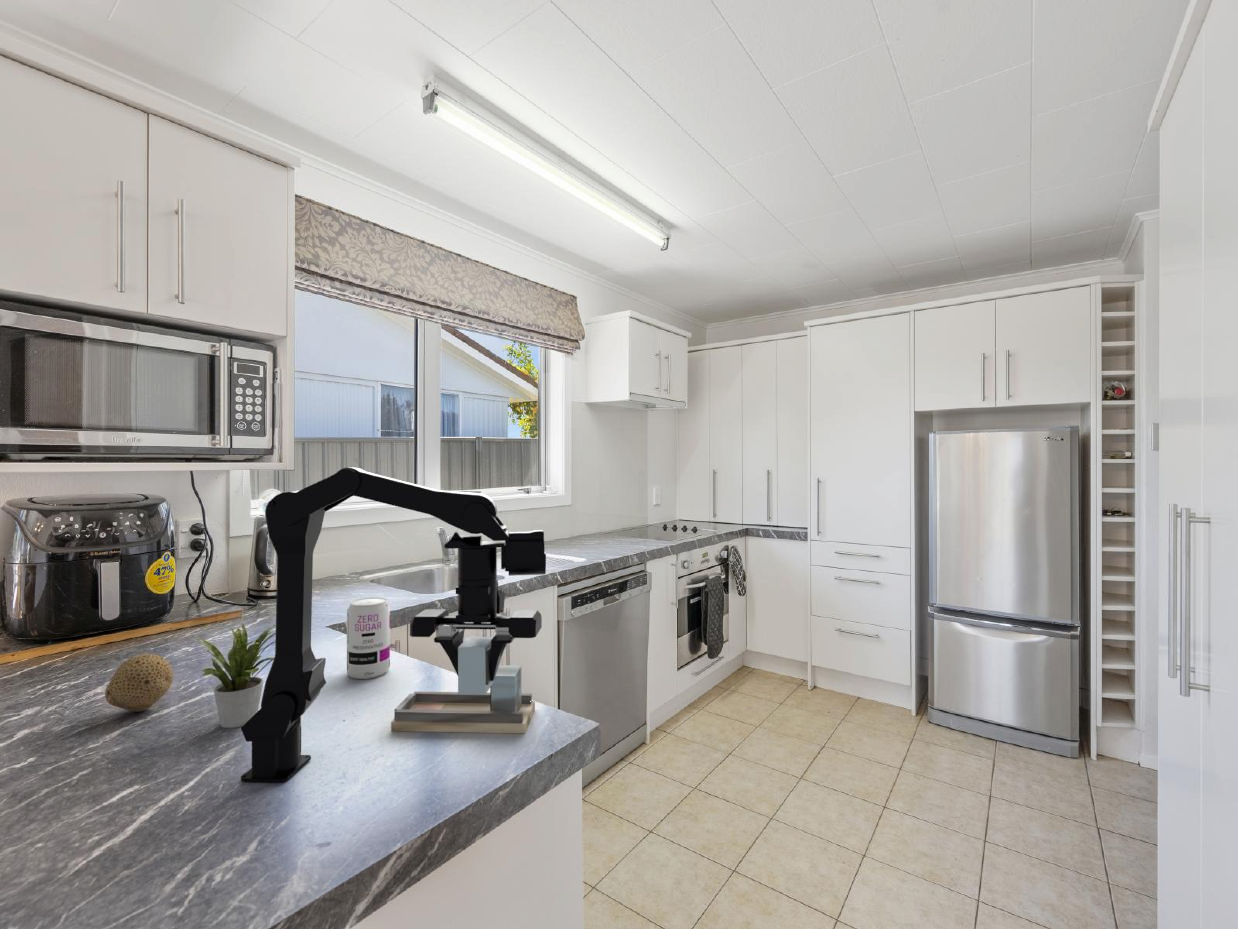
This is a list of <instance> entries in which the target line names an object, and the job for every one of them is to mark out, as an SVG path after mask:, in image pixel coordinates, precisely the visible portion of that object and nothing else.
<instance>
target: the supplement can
mask: <svg viewBox="0 0 1238 929" xmlns="http://www.w3.org/2000/svg"><path fill="white" fill-rule="evenodd" d="M387 600H388V599H387V598H385V597H364V598H359V599H355V600H354V599H353V600H352V601H351V602H350V603H349V604H350V605H349V606H348V608H347V610H346V674H347V675H348V676H350V677H351V678H352V679H356V680H367V679H374V678H378V677H381V676H383V675H384V674H386V673H387V671H389V669H390V667H391V658H390V657H391V606H390V605H389V603H388V601H387Z"/></svg>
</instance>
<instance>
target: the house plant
mask: <svg viewBox="0 0 1238 929" xmlns="http://www.w3.org/2000/svg"><path fill="white" fill-rule="evenodd" d="M274 627H276V624H275V625H272V626H270V627H269V628H267V629H266V630H264V631H262V633H261V634H260V635H259V636H258V637H257V638H256V639H254V640H252V641H250V642H248V641H249V638H248V632H247V630H246V626H245V625H244V623H243V622H242V623H241V629H240V627H237V629H236V630H235V631H234V629H233V628H232V627H231V626H230V625H229V629H230V630H231V633H232V635H233V641H232V642H233V643H232V647H231V649H229V651H228V653H227V660H228V661H227V660H226V658H225V656H224V655H223V653H222V652H221V651H220V650H219V649H218V648H217V646H215V645H214V644H213V643H211V642H209V641H207V640H205V639H202V638H196V637H195V638H194V639H196V640H198V641H200V642H201V643H203V644H204V645H205V646H206V647H207V648H208V649H209V650H208V649H206V648H202V647H201V649H202V650H203V651H206V653H207V652H208V653H209V654H210V655H211V656H212V657H211V661H212V666H213V668H211V667H209V668H208V667H207V668H203V669H201V671H202V672H203V674H202V675H201V677H203V676H204V677H205V676H208V675H211V676H214V677H216V678H217V679H218V680H219V681H220V682H221V683H219V684H217V685H215V686H214V688H213V693H214V699H215V703H216V709H217V715H218V719H219V724H220V725H219V726H220V727H222V728H224V729H226V728H227V729H234V728H235V729H236V728H240V727H242V726H243V725H244V724H245V723H246V722H247V721H248V720H249V719H250V718H251V717H252V716H254V715H255V714H256V713H257V712H258V711H259V710H260V704H261V699H262V697H261V696H262V692H263V685H264V679H263V678H261V677H258V676H257V675H258V674H259V673H260V672H261V671H263V669H265V668H266V667H267V666H268V665H269V664H270V663H271V662H273V661H274V657H267V658H264V659H261V660H260V658H262V656H261V655H262V654H263V652H265V650H266V649H267V648H269V646H271V645H273V644H275V641H272V642H270V643H269V644H267V645H266V646H265V647H263V645H265V643H266V642H268V640H270V639H272V638H273V637H274V636H276V632H274V633H272V631H271V630H272V629H273V628H274ZM270 631H271V632H270ZM268 635H269V636H268ZM217 660H218V661H219V663H220V664H219V663H218V662H217ZM258 660H260V661H258ZM257 661H258V662H257ZM266 661H267V663H266V664H265V665H264V666H263V667H261V668H259V667H258V666H259V665H261V664H262V663H264V662H266ZM221 666H222V667H223V668H224V669H223V668H222V667H221ZM259 669H260V670H259ZM224 670H225V671H224ZM254 674H255V675H254Z"/></svg>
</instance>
